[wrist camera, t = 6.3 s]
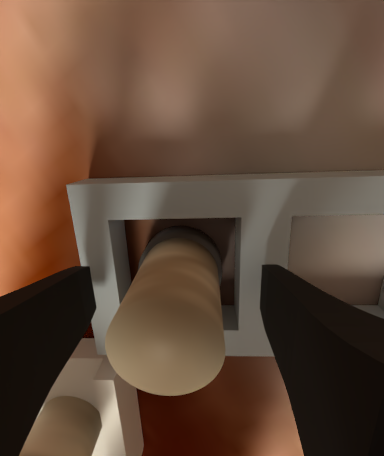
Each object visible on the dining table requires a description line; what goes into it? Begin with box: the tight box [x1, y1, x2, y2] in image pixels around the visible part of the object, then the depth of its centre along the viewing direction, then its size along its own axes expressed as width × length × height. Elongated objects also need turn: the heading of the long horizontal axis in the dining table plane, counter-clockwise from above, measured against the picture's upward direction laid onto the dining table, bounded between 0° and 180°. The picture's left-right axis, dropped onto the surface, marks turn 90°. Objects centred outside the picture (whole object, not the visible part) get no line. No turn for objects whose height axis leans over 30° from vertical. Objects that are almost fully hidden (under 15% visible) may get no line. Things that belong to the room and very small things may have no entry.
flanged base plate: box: [36, 338, 144, 456], centre depth 15 cm, size 9×14×3 cm, turn 92°
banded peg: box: [105, 226, 225, 396], centre depth 10 cm, size 4×4×6 cm
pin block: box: [66, 170, 384, 356], centre depth 12 cm, size 8×16×2 cm, turn 92°
